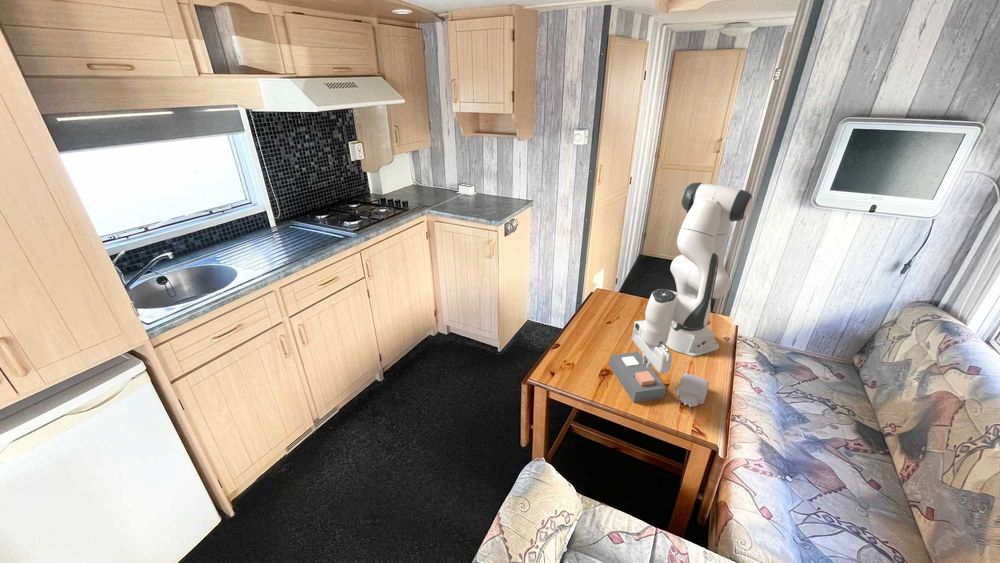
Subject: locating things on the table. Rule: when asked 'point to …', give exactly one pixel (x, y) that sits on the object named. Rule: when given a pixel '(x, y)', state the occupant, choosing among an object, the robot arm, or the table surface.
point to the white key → (630, 361)
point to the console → (629, 382)
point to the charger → (692, 390)
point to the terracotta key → (644, 378)
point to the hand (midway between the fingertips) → (646, 366)
